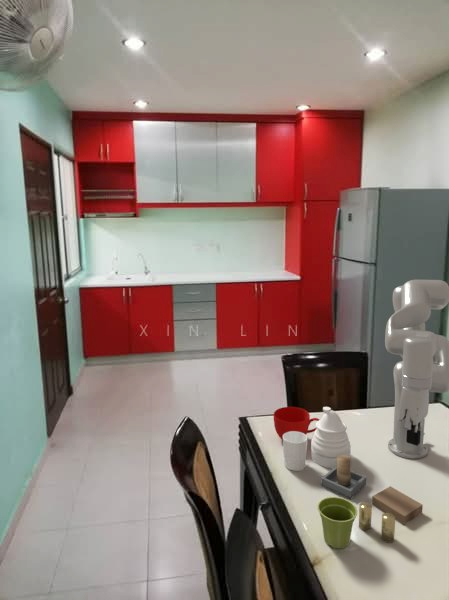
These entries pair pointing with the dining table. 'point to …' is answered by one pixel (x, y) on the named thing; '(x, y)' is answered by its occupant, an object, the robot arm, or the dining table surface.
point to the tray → (348, 492)
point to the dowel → (344, 470)
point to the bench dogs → (387, 522)
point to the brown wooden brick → (397, 505)
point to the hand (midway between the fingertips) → (413, 443)
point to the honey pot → (329, 439)
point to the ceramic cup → (292, 420)
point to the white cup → (294, 450)
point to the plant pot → (337, 520)
